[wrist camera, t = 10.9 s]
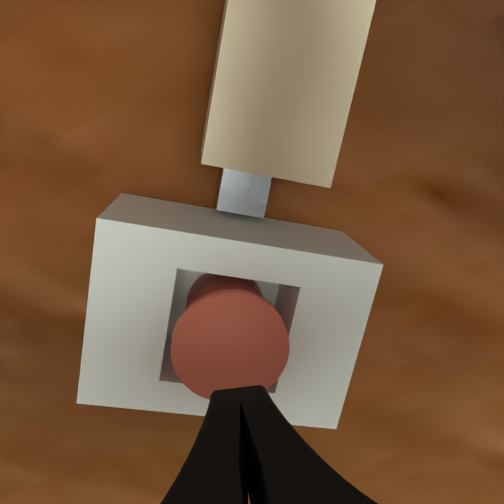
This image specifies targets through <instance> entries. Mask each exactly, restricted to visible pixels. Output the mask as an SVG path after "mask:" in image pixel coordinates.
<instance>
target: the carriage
mask: <svg viewBox="0 0 504 504" xmlns="http://www.w3.org/2000/svg"><path fill="white" fill-rule="evenodd" d="M375 3H376V0H225V4H224V10H223V16H222V22H221V29H220V35H219V41H218V47H217V53H216V59H215V65H214V71H213V78H212V84H211V90H210V96H209V102H208V108H207V114H206V120H205V127H204V133H203V139H202V145H201V164H205V165H210V166H215V167H221V168H226V169H231V170H237V171H242V172H247V173H253V174H258V175H263V176H269V177H274V178H279V179H285V180H290V181H295V182H301V183H306V184H311V185H317V186H322V187H327V188H331V184H332V180H333V176H334V172H335V168H336V164H337V159H338V155H339V151H340V147H341V143H342V139H343V135H344V131H345V127H346V123H347V118H348V114H349V110H350V106H351V102H352V98H353V94H354V90H355V86H356V81H357V77H358V73H359V69H360V65H361V61H362V57H363V53H364V49H365V45H366V40H367V36H368V32H369V28H370V24H371V20H372V16H373V12H374V8H375Z"/></svg>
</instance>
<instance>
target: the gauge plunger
mask: <svg viewBox="0 0 504 504" xmlns="http://www.w3.org/2000/svg"><path fill="white" fill-rule="evenodd" d="M289 347H290V344H289V337H288V333H287V330H286V327H285V325H284V322H283V320H282V318H281V316H280V314H279V313H278V311H277V310H276V309H275V308H274V306H273V305H272V304H271V303H269V302H268V301H267V300H266V299H264V298H263V296H262V293H261V291H260V288H259V286H258V285H257V283H256V282H255V281H254V280H250V279H244V278H237V277H230V276H224V275H217V274H210V273H205V274H203V275H202V276H200V277H199V278H198V279H197V280H196V281H195V282H194V284H193V285H192V287H191V288H190V290H189V293H188V296H187V303H186V309H185V310H184V311H183V313H182V314H181V315H180V317H179V319H178V320H177V322H176V325H175V327H174V331H173V335H172V343H171V360H172V364H173V367H174V370H175V372H176V374H177V376H178V378H179V379H180V380H181V382H182V383H183V384H184V385H185V386H186V387H187V388H188V389H190V390H191V391H192V392H193V393H195V394H197V395H199V396H201V397H203V398H205V399H209V400H210V395H211V394H212V393H213V391H214V390H222V389H230V388H238V387H247V386H255V385H262V386H263V387H265V388H266V390H267V389H268V388H269V387H270V386H272V385H273V384H274V383H275V382H276V380H277V379H278V378H279V377H280V375H281V374H282V372H283V370H284V368H285V366H286V364H287V360H288V357H289Z"/></svg>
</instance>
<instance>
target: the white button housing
mask: <svg viewBox="0 0 504 504" xmlns="http://www.w3.org/2000/svg"><path fill="white" fill-rule="evenodd" d="M382 268H383V264H382V263H381V262H380V261H378V260H377V259H376V258H375V257H373V256H372V255H371V254H370V253H369V252H367V251H366V250H365V249H364V248H362V247H361V246H360V245H359V244H358V243H356V242H355V241H354V240H353V239H351V238H350V237H349V236H348V235H347V234H345V233H344V232H343V231H340V230H334V229H328V228H323V227H317V226H311V225H305V224H300V223H294V222H288V221H282V220H276V219H271V218H265V217H264V218H260V217H254V216H248V215H242V214H236V213H231V212H225V211H219V210H216V209H213V208H207V207H201V206H195V205H190V204H184V203H178V202H172V201H167V200H161V199H155V198H149V197H143V196H138V195H132V194H126V193H121V194H120V195H119V196H118V197H117V198H116V199H115V200H114V201H113V202H112V203H111V204H110V205H109V206H108V207H107V208H106V209H105V210H104V211H103V212H102V213H101V214H100V215H99V216H98V217H97V219H96V228H95V238H94V247H93V256H92V265H91V275H90V284H89V293H88V303H87V312H86V321H85V330H84V340H83V349H82V358H81V368H80V377H79V386H78V395H77V403H79V404H89V405H99V406H109V407H119V408H129V409H139V410H149V411H159V412H169V413H179V414H189V415H199V416H205V415H206V412H207V409H208V405H209V401H210V400H209V399H205V398H203V397H201V396H199V395H197V394H195V393H193V392H192V391H191V390H190V389H188V388H187V387H186V386H185V385H184V384H183V383H182V382H181V380H180V379H179V378H178V376H177V374H176V372H175V370H174V367H173V364H172V360H171V343H172V335H173V331H174V327H175V325H176V322H177V320H178V319H179V317H180V315H181V314H182V313H183V311H184V310H185V309H186V303H187V296H188V293H189V290H190V288H191V287H192V285H193V284H194V282H195V281H196V280H197V279H198V278H199V277H200V276H202V275H203V274H205V273H210V274H217V275H224V276H230V277H237V278H244V279H250V280H254V281H255V282H256V283H257V285H258V286H259V288H260V291H261V293H262V296H263V298H264V299H266V300H267V301H268V302H269V303H271V304H272V305H273V306H274V308H275V309H276V310H277V311H278V313H279V314H280V316H281V318H282V320H283V322H284V325H285V327H286V330H287V333H288V337H289V344H290V347H289V357H288V360H287V364H286V366H285V368H284V370H283V372H282V374H281V375H280V377H279V378H278V379H277V380H276V382H275V383H274V384H273V385H272V386H270V387H269V388H268V389H267V392H268V394H269V395H270V397H271V399H272V400H273V402H274V403H275V405H276V406H277V407H278V409H279V410H280V412H281V413H282V414H283V416H284V417H285V418H286V419H287V421H288V422H289V423H290V424H291V425H299V426H309V427H319V428H329V429H336V428H337V425H338V421H339V418H340V414H341V411H342V407H343V404H344V400H345V397H346V393H347V390H348V386H349V383H350V379H351V376H352V373H353V369H354V366H355V362H356V359H357V355H358V352H359V348H360V345H361V341H362V338H363V334H364V331H365V327H366V324H367V320H368V317H369V313H370V310H371V307H372V303H373V300H374V296H375V293H376V289H377V286H378V282H379V279H380V275H381V272H382Z"/></svg>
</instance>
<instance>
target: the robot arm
mask: <svg viewBox="0 0 504 504" xmlns="http://www.w3.org/2000/svg"><path fill="white" fill-rule="evenodd" d="M248 494H249V498H250V503H251V504H377V503H376V502H374V501H373V500H372V499H370V498H369V497H367V496H366V495H364V494H363V493H362V492H360V491H359V490H358V489H356V488H355V487H354V486H353V485H351V484H350V483H349V482H348V481H346V480H345V479H344V478H343V477H342V476H340V475H339V474H338V473H337V472H336V471H335V470H334V469H332V468H331V467H330V466H329V465H328V464H327V463H326V462H325V461H324V460H323V459H322V458H321V457H320V456H319V455H318V454H317V453H316V452H315V451H314V450H313V449H312V448H311V447H310V446H309V445H308V444H307V443H306V442H305V441H304V440H303V438H302V437H301V436H300V435H299V434H298V433H297V432H296V430H295V429H294V428H293V427H292V426H291V424H290V423H289V422H288V421H287V419H286V418H285V417H284V416H283V414H282V413H281V412H280V410H279V409H278V407H277V406H276V405H275V403H274V402H273V400H272V399H271V397H270V395H269V394H268V392H267V390H266V388H265V387H263V386H262V385H255V386H247V387H238V388H230V389H222V390H214V391H213V393H212V394H211V395H210V401H209V405H208V409H207V412H206V415H205V418H204V421H203V424H202V426H201V429H200V431H199V433H198V436H197V438H196V440H195V443H194V445H193V447H192V449H191V451H190V453H189V455H188V457H187V459H186V461H185V463H184V465H183V467H182V469H181V471H180V473H179V474H178V476H177V478H176V480H175V481H174V483H173V485H172V486H171V488H170V490H169V491H168V493H167V494H166V496H165V497H164V499H163V500H162V502H161V503H160V504H248Z"/></svg>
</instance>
